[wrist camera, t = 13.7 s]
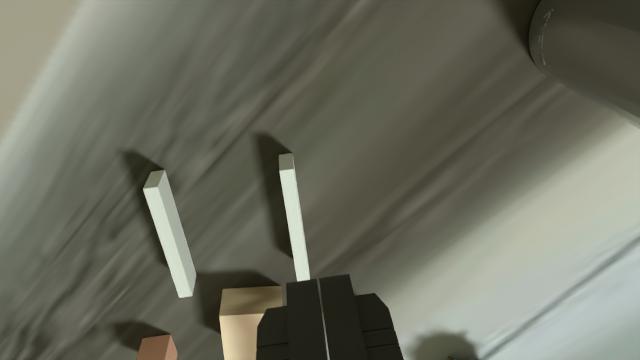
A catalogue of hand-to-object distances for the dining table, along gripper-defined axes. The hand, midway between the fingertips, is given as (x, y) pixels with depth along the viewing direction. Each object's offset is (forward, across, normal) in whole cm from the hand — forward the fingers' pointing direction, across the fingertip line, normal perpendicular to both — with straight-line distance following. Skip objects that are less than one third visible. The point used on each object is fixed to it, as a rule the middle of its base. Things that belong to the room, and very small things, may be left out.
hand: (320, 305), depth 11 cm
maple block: (+29, +7, +28) cm, 41 cm away
